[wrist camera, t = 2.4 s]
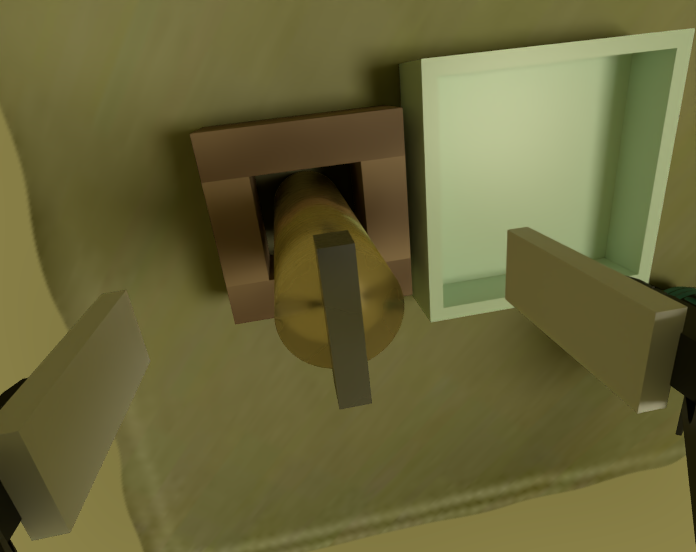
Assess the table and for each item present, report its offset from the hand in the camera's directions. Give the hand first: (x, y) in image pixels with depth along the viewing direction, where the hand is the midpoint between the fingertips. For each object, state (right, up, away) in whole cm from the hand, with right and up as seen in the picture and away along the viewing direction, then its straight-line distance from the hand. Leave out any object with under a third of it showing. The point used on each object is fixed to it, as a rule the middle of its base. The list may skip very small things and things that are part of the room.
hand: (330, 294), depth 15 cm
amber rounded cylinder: (-2, +5, +11) cm, 12 cm away
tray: (+11, +7, +12) cm, 18 cm away
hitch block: (-2, +5, +11) cm, 12 cm away
